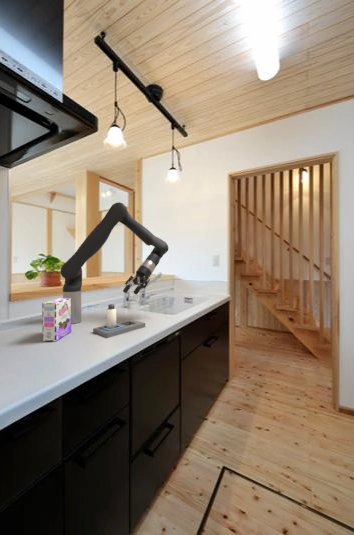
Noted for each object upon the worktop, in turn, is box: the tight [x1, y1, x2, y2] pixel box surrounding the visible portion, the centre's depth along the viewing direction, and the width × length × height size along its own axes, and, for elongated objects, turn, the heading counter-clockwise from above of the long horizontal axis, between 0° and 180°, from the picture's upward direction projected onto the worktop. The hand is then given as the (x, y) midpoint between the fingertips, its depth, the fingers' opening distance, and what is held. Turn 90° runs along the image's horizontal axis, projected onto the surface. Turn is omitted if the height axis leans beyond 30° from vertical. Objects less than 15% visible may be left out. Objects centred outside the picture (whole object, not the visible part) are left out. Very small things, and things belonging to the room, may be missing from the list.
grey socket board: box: [92, 319, 146, 339], centre depth 111 cm, size 12×22×2 cm, turn 140°
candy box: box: [41, 297, 72, 342], centre depth 101 cm, size 14×6×16 cm, turn 179°
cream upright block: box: [106, 303, 117, 329], centre depth 108 cm, size 4×4×13 cm
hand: (129, 292), depth 115 cm, fingers open, 8 cm apart
